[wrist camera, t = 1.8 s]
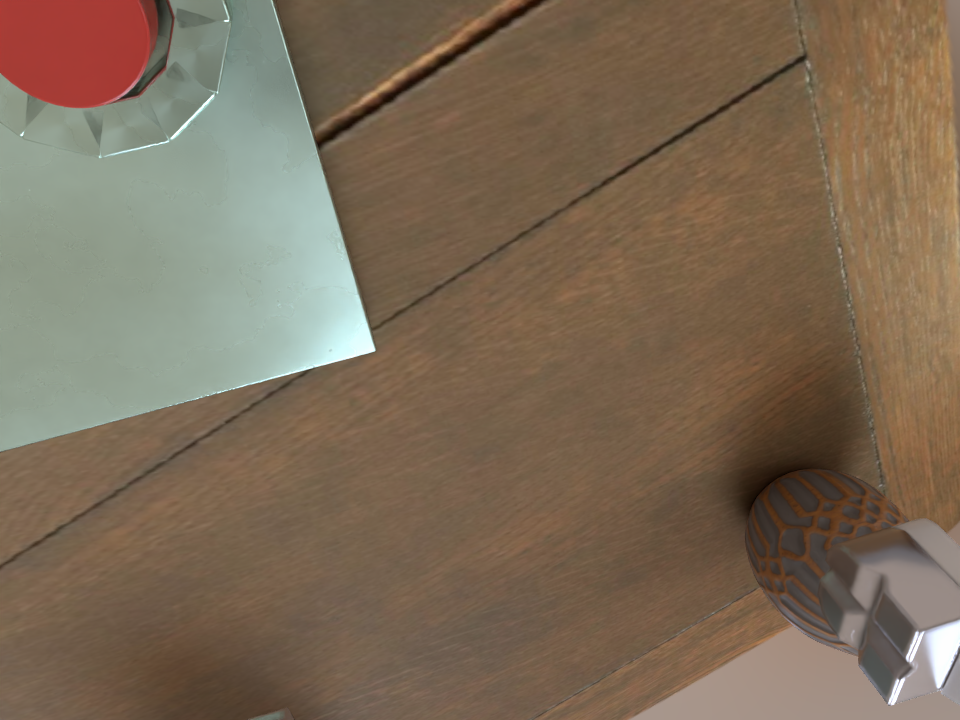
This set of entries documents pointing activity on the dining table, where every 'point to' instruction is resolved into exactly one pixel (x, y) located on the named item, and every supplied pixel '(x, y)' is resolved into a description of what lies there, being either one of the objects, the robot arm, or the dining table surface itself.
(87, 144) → the green metallic slab
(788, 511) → the vase
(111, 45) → the button
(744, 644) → the dining table surface
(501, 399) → the dining table surface
